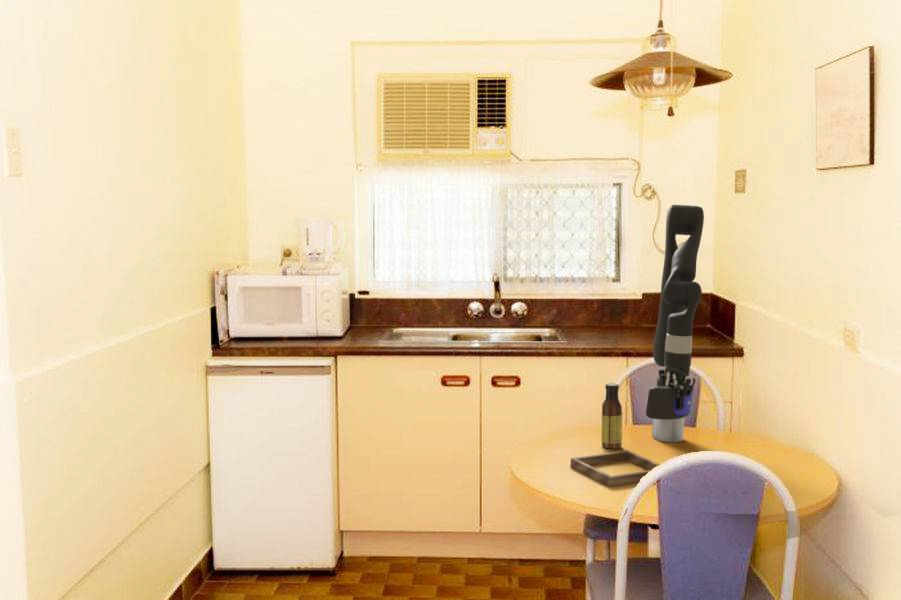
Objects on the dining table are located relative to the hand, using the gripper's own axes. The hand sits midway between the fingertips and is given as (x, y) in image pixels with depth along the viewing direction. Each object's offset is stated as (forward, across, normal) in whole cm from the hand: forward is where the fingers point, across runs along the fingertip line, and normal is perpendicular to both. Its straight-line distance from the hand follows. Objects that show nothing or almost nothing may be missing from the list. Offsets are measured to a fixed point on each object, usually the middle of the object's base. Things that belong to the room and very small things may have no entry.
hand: (674, 407), depth 245 cm
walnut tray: (+17, -1, +20) cm, 26 cm away
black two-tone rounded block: (+3, +2, 0) cm, 4 cm away
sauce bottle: (+17, +20, +7) cm, 27 cm away
